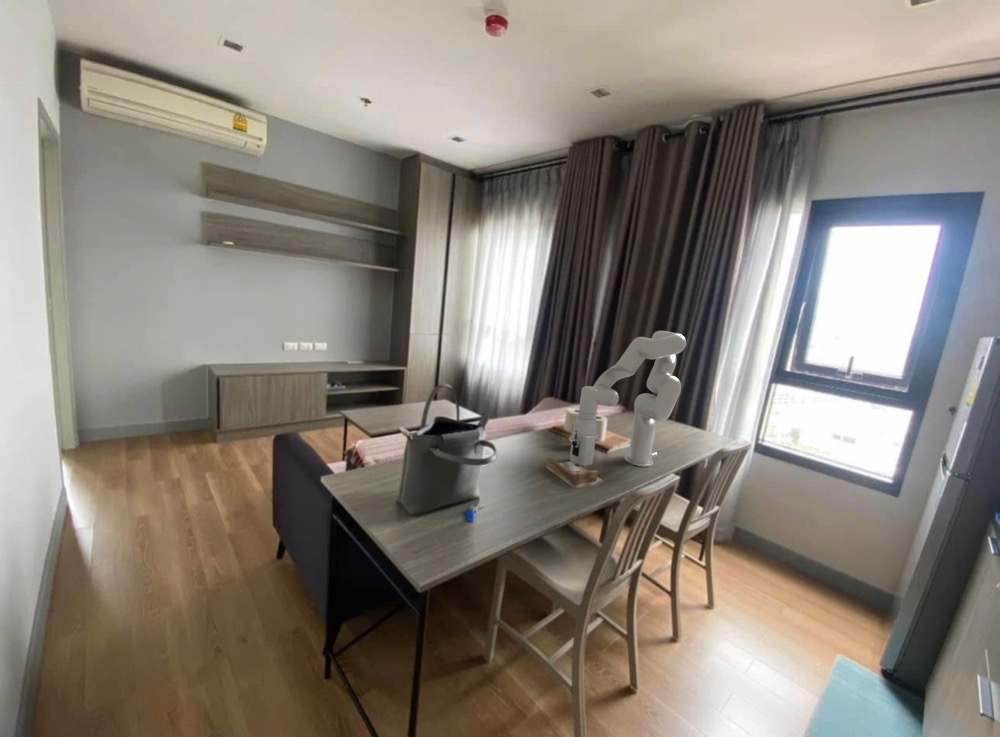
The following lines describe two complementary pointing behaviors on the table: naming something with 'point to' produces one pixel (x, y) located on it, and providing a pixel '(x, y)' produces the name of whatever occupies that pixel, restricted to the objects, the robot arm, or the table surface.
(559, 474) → the wooden tray
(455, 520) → the table surface
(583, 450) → the small box
